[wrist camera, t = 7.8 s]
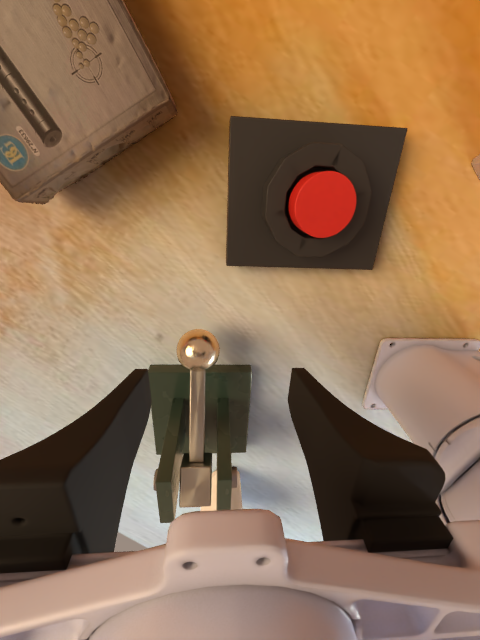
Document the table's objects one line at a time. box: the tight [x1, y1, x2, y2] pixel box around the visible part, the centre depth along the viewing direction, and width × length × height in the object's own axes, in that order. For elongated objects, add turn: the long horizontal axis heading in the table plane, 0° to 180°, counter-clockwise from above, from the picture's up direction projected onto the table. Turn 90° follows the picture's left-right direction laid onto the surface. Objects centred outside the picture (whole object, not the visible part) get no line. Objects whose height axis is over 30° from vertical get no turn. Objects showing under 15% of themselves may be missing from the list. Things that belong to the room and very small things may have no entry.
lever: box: [176, 329, 220, 507], centre depth 22 cm, size 12×3×3 cm, turn 177°
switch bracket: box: [148, 365, 252, 523], centre depth 24 cm, size 10×9×9 cm
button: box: [288, 171, 356, 238], centre depth 17 cm, size 4×4×2 cm
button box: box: [226, 116, 407, 270], centre depth 19 cm, size 11×9×3 cm
